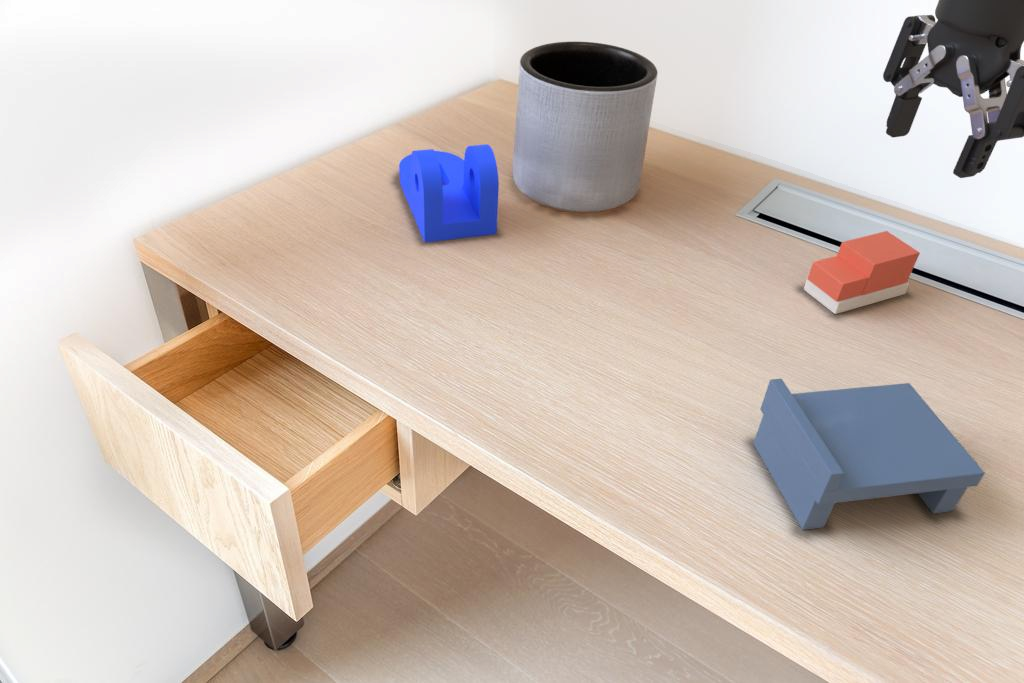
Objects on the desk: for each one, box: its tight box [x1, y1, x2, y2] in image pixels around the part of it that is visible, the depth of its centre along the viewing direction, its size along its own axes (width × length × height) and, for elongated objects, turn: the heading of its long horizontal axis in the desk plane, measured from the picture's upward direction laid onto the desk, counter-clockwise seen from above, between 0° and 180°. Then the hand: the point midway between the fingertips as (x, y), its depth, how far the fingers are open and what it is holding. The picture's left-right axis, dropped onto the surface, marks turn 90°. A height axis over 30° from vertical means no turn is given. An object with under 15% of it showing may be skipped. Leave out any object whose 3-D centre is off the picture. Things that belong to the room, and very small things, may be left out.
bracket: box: [398, 144, 500, 243], centre depth 93 cm, size 18×8×9 cm, turn 17°
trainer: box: [803, 230, 921, 315], centre depth 83 cm, size 10×5×5 cm, turn 115°
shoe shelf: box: [753, 378, 986, 531], centre depth 62 cm, size 13×10×7 cm
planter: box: [511, 41, 659, 214], centre depth 95 cm, size 16×16×16 cm
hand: (928, 154), depth 73 cm, fingers open, 8 cm apart
